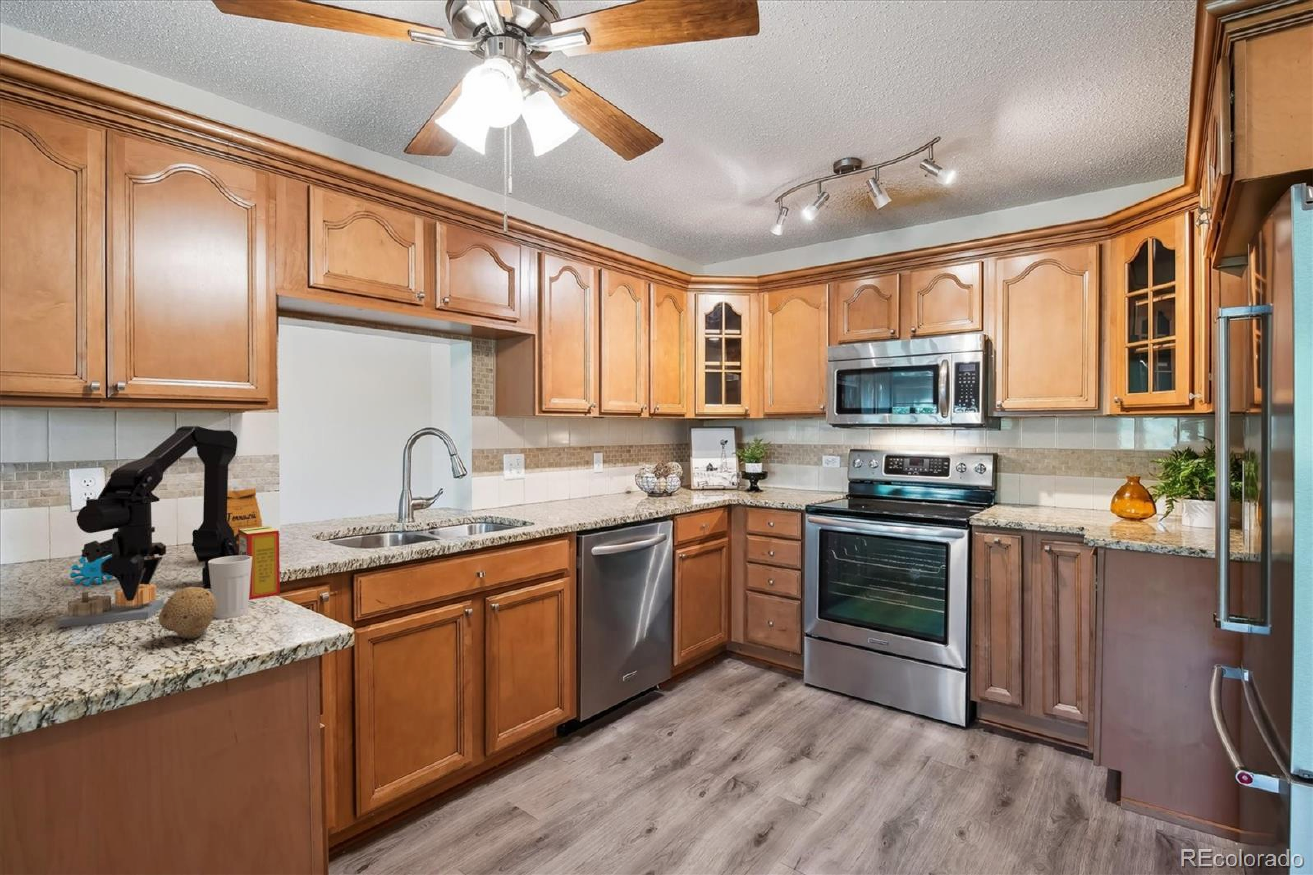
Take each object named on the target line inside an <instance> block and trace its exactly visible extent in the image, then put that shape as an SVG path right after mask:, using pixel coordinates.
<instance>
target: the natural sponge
mask: <svg viewBox="0 0 1313 875" xmlns="http://www.w3.org/2000/svg"><path fill="white" fill-rule="evenodd" d="M216 605H217V602H216V598H215V597H214V595H213V594H212V591H209V590H208V589H207V588H203V587H200V586H199V587H198V586H188V587H184V588H181V589H179V590H177V591H175V592H174V593H173V594H172V595H170V597H169V598H168V599H167V601H166V602H165V603H164V606H163V607H162V608H161V611H160V612H159V614H158V623H159V625H160V626H161V627H162V628H163V629H165V630H167V631H171V632H174V633H176V634H178V635H179V636H181V638H182V637H183V638H184V639H196V638H199V636H200V637H201V635H202V634H203V633H204V632H206V630H207V629H208V627H209V626H210V625H211V623H212V621H213V620H214V619H215V618H214V615H215V611H216Z"/></svg>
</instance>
